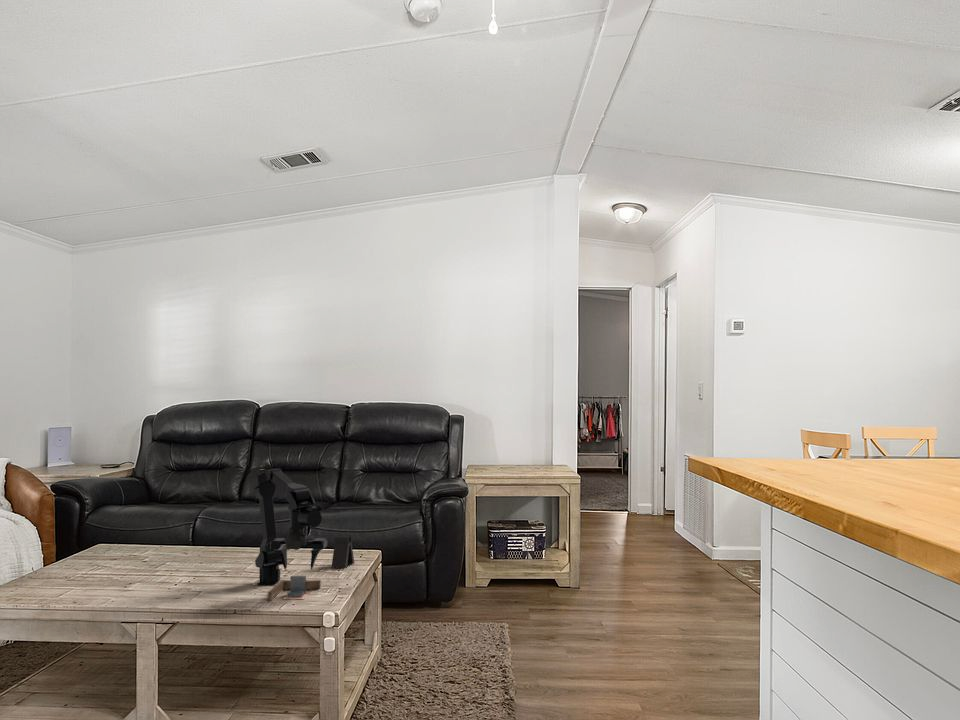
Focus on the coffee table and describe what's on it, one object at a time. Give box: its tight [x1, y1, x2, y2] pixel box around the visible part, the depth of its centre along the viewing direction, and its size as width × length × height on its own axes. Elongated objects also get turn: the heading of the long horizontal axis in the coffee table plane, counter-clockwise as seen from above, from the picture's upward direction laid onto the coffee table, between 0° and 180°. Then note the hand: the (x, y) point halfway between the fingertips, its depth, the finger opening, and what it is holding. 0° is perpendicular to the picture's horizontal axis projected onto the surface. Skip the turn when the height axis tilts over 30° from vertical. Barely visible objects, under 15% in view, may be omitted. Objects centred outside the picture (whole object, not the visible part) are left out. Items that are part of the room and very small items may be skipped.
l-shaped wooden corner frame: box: [267, 579, 322, 602], centre depth 236 cm, size 14×15×3 cm
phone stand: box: [330, 534, 355, 569], centre depth 274 cm, size 9×6×12 cm, turn 166°
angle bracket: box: [286, 575, 307, 597], centre depth 234 cm, size 5×5×6 cm
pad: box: [283, 591, 311, 600], centre depth 234 cm, size 7×8×1 cm
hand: (298, 568), depth 236 cm, fingers open, 9 cm apart
